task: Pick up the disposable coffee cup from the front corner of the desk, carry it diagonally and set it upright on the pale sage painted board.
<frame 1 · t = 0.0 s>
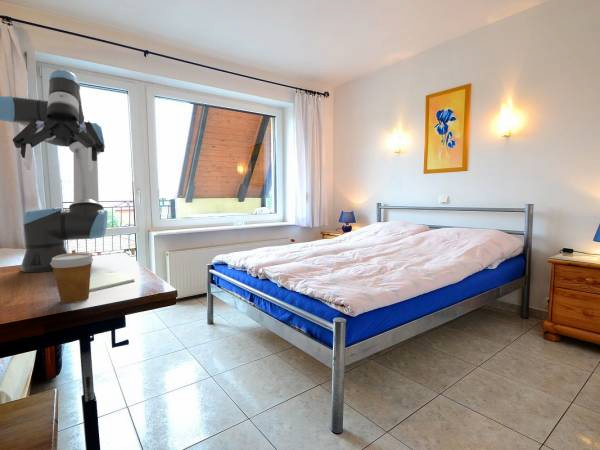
hand: (60, 167, 85), 36 cm above the table, tool tilted 35°, fingers open, 13 cm apart
disposable coffee cup: (75, 300, 87), on the table
sage board: (99, 282, 104), on the table
lidded jar: (75, 277, 111), on the table
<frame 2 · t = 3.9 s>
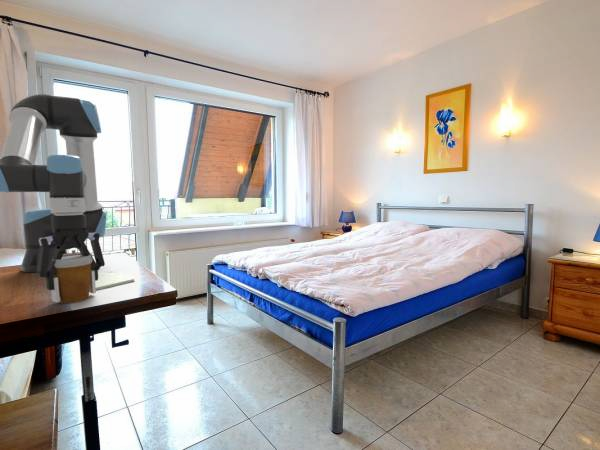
hand: (74, 296, 87), 1 cm above the table, tool pointing down, fingers closed on disposable coffee cup, 8 cm apart
disposable coffee cup: (75, 300, 87), on the table, touching gripper
everything else where it was.
when the fingers open (3 cm above the table, at t = 10.6 s): disposable coffee cup drops 1 cm, resting on sage board.
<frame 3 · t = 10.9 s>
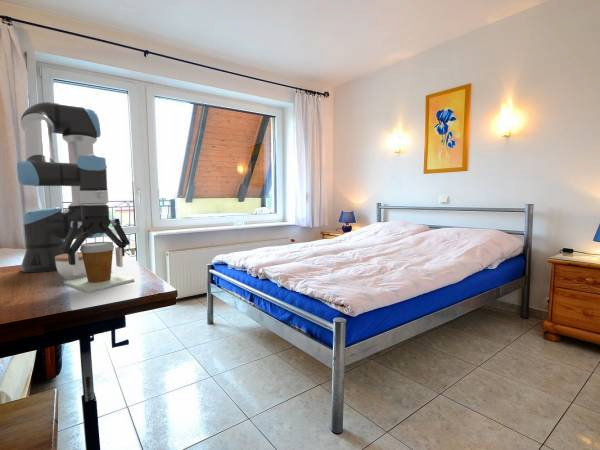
hand: (99, 270, 104), 4 cm above the table, tool pointing down, fingers open, 12 cm apart
disposable coffee cup: (99, 280, 104), point 1 cm above the table, touching sage board
everything else where it was.
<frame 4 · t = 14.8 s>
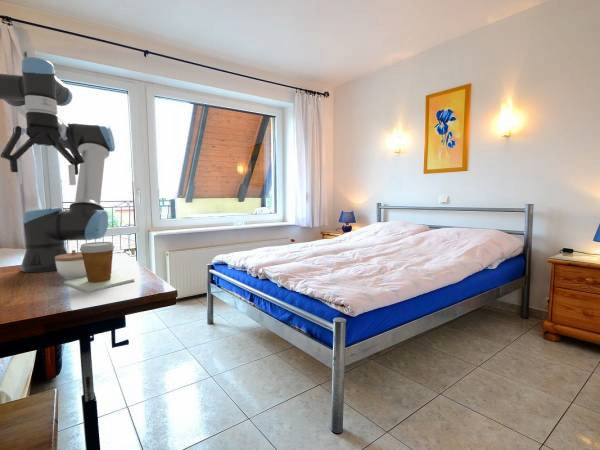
hand: (47, 184, 98), 32 cm above the table, tool pointing down, fingers open, 13 cm apart
nothing on the table moved.
at the end: disposable coffee cup inside the target area on the sage board (0.1 cm from its centre), point 0.6 cm above the sage board's base; disposable coffee cup tilted 0°; the gripper is holding nothing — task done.
